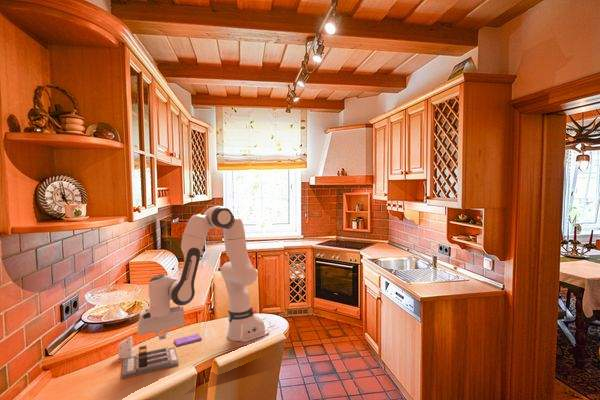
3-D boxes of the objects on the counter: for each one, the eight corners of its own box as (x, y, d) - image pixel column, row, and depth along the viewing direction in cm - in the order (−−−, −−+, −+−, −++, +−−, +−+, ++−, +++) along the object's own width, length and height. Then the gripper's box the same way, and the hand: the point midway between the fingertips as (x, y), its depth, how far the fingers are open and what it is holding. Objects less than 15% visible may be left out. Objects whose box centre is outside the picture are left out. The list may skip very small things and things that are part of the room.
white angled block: (140, 352, 151) (130, 337, 151) (122, 364, 151) (112, 348, 151) (143, 348, 155) (134, 333, 155) (125, 360, 155) (116, 344, 154)
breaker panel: (174, 350, 158) (174, 338, 158) (178, 364, 143) (177, 351, 143) (123, 361, 148) (123, 348, 148) (122, 378, 134) (121, 364, 134)
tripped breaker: (146, 359, 146) (146, 348, 146) (146, 361, 144) (146, 351, 144) (139, 360, 145) (139, 349, 145) (139, 363, 142) (139, 352, 142)
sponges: (201, 341, 168) (201, 337, 168) (176, 347, 161) (176, 344, 161) (198, 336, 174) (198, 333, 174) (173, 342, 167) (173, 339, 167)
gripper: (182, 303, 158) (184, 330, 159) (136, 312, 149) (138, 341, 150) (184, 307, 153) (186, 335, 153) (136, 317, 144) (138, 347, 144)
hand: (162, 338), depth 151 cm, fingers closed
